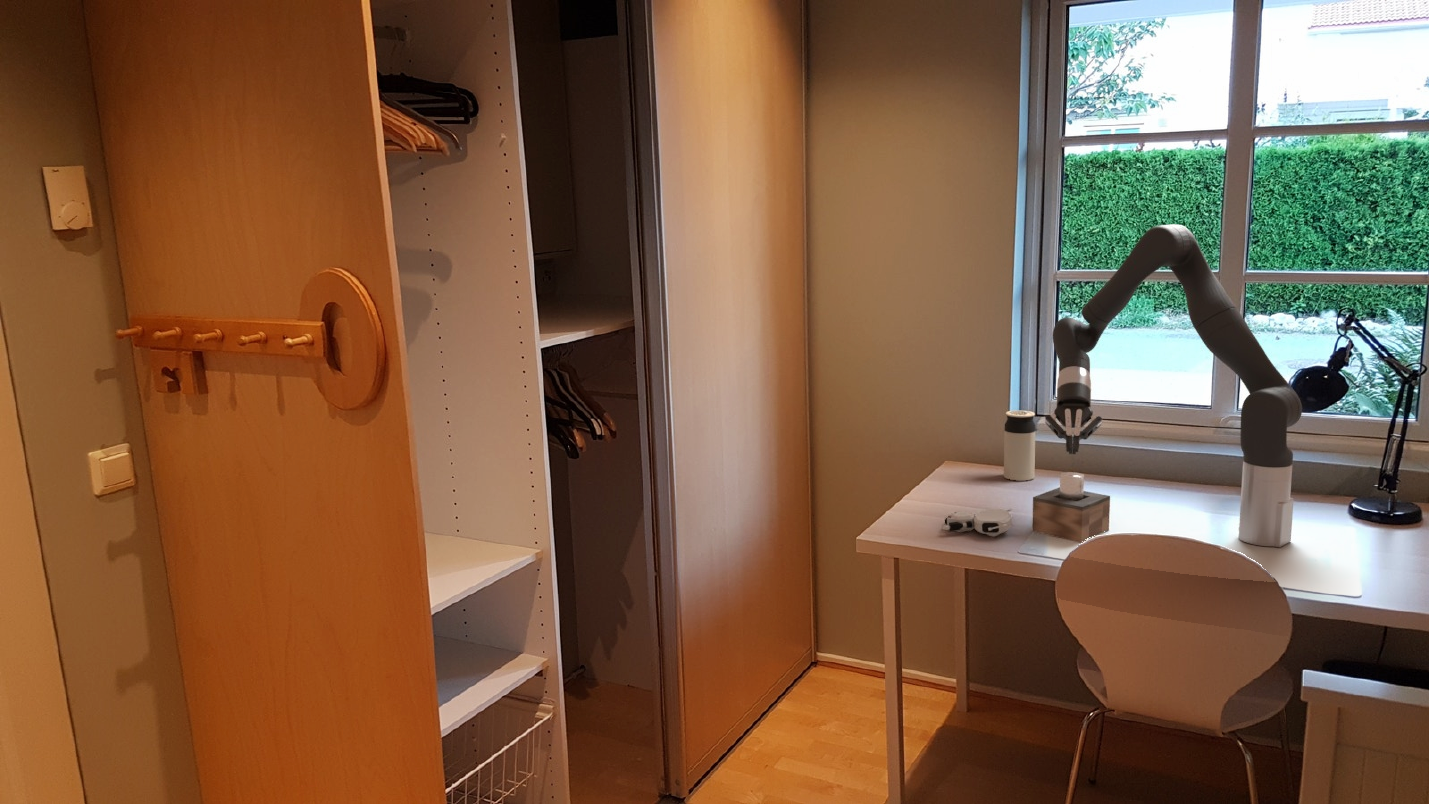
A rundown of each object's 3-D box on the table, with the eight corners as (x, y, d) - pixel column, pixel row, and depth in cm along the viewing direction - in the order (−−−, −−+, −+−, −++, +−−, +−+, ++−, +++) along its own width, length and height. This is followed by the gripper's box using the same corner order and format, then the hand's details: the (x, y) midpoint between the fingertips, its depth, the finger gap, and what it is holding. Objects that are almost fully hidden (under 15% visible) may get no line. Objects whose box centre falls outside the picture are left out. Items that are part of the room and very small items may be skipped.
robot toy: (941, 541, 229) (1010, 541, 223) (939, 521, 228) (1009, 521, 223) (949, 525, 240) (1015, 525, 235) (947, 506, 240) (1013, 506, 234)
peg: (1087, 508, 229) (1088, 474, 227) (1075, 513, 225) (1076, 478, 224) (1066, 504, 232) (1067, 471, 231) (1055, 508, 229) (1056, 475, 228)
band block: (1108, 530, 229) (1110, 495, 228) (1081, 542, 221) (1082, 507, 220) (1060, 519, 238) (1061, 486, 237) (1032, 531, 230) (1033, 497, 229)
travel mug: (1005, 481, 273) (1006, 415, 270) (1002, 474, 281) (1003, 410, 278) (1036, 481, 272) (1037, 415, 269) (1032, 474, 280) (1033, 410, 276)
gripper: (1044, 380, 239) (1041, 442, 230) (1104, 381, 235) (1104, 444, 226) (1044, 398, 245) (1041, 459, 236) (1103, 400, 241) (1102, 462, 232)
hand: (1072, 452), depth 231 cm, fingers closed
